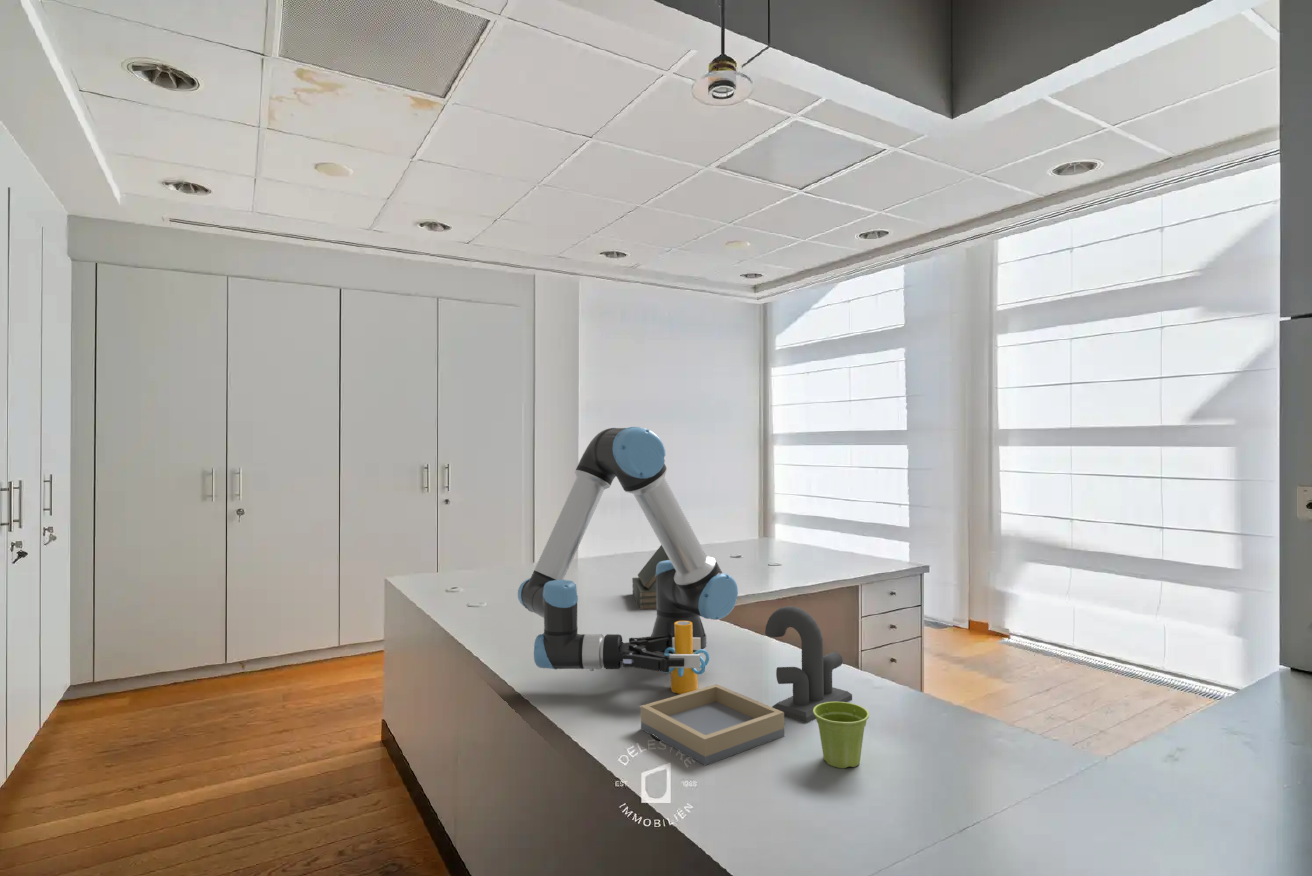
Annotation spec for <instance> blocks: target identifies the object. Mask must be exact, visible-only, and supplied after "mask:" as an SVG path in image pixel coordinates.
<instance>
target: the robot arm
mask: <svg viewBox="0 0 1312 876" xmlns="http://www.w3.org/2000/svg"><path fill="white" fill-rule="evenodd" d="M665 457H666V449H665V446H664V442H663V440H662V439H661V438H660V437H659V436H658V435H657V434H656V433H655V432H653V431H652V430H650V429H648V428H644V427H640V426H629V427H612V428H611V427H609V428H605V429H604V430H602V431H600V432H598V433H597V434H596V435H595V436H594V437H593V438H592V440H591V441H590V442H589V444H588V445H587V447H586V448H585V450H584V452H583V454H582V456H581V458H580V459H579V462H578V464H577V466H576V468H575V470H574V473H575V476H576V478H575V480H574V482H573V485H572V487H571V489H570V491H569V493H568V496H567V497H566V501H565V502H564V505H563V507H562V509H561V511H560V513H559V515H558V517H557V520H556V521H555V523H554V526H553V528H552V531H551V532H550V535H549V537H548V539H547V541H546V544H545V546H544V548H543V550H542V552H541V555H540V557H539V558H538V561H537V563H536V566H535V568H534V570H533V572H532V574H531V576H530V578H527V579H525V580H524V581H523V582H521V584H520V585H519V586H518V589H517V599H518V601H519V603H520V604H521V605H522V606H523V607H524V608H525V609H527V611H529V612H530V613H534V614H536V615H538V616H539V617H541V618H543V633H540V634H538V635H536V636H535V640H534V643H533V644H534V645H533V647H534V648H533V660H534V663H535V665H536V667H538V668H539V669H547V670H548V669H549V670H556V671H557V670H589V671H590V672H593V671H594V670H602V668H604V669H605V670H620V669H621V668H622V667H623V668H637V669H643V670H648V671H649V670H650V671H655V672H662V673H664V672H669V669H670V668H696V669H701V668H700V665H701V662H700V656H701V653H699V654H694V653H693V654H674V653H673V652H672V651H669V652H668V653H669V654H670V657H669V656H666V655H664V654H661V653H657V652H660V651H661V652H665V650H666V649H667V648H670V647H671V648H674V649H675V625H674V623H675V622H677V621H690V622H692V628H693V652H695V651H697V650H699V649H704V648H705V647H707V645H706V644H708V643H707V635H706V631H705V628H704V624H703V622H702V619H701V617H702V618H703V619H706V620H707V619H709V620H713V621H715V620H717V621H718V620H721V619H724V618H725V617H727V616H728V615H730V614H731V612H732V611H733V609H734V608H735V606H736V604H737V600H738V597H739V588H738V584H737V581H736V580H735V579H734V578H733V577H732V576H731V575H730V574H728V573H724V572H723V571H722V570H721V568H720V566H719V564H718V562H717V560H716V558H715V557H714V556H712V555H708V554H706V552H705V550H704V549H703V547H702V545H701V543H700V541H699V539H698V537H697V535H696V534H695V531H694V530H693V528H692V526H691V525H690V522H689V520H688V519H687V517H686V515H685V513H684V511H683V509H682V507H681V506H680V504H679V502H678V500H677V498H676V497H675V495H674V492H673V490H672V488H671V487H670V485H669V483H668V480H667V479H666V474H667V470H668V468H667V466H666V464H665V462H666V461H665ZM615 478H617V480H618V482H619V483H620V485H621V487H622V489H623V491H624V493H625V492H626V493H629V494H633V496H634V498H635V499H636V501H637V503H638V505H639V507H640V509H641V511H642V513H643V514H644V516H645V518H646V520H647V522H648V523H649V525H650V527H651V528H652V531H653V533H655V536H656V538H657V539H658V541H659V543H660V546H661V545H662V547H663V548H664V550H665V552H666V554H667V556H668V558H669V559H670V560H666V561H661V562H659V563H658V564H657V566H656V575H655V577H656V604H657V609H656V617H655V621H654V625H653V628H652V632H651V634H650V636H644V637H643V636H642V637H629V638H628V642H623V636H622V635H621V634H618V633H617V634H613V633H612V634H609V633H608V634H605V636H604V634H601V633H597V634H596V633H591V634H589V633H586V634H584V633H583V634H582V633H581V634H579V633H578V630H579V629H578V602H579V601H578V600H579V598H578V597H579V596H578V592H577V591H578V590H577V589H578V588H577V584H576V583H575V582H574V581H573V580H568V579H565V577H566V576H567V573H568V571H569V569H570V566H571V564H572V562H573V559H574V557H575V555H576V554H577V551H578V549H579V546H580V544H581V542H582V540H583V537H584V535H585V533H586V530H587V529H588V526H589V524H590V522H591V520H592V518H593V515H594V513H595V511H596V509H597V507H598V505H599V502H600V499H601V498H602V495H603V494H604V491H606V490H607V489H609V488H611V486H612V483H613V482H614V479H615Z"/></svg>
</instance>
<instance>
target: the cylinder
mask: <svg viewBox="0 0 1312 876" xmlns="http://www.w3.org/2000/svg"><path fill="white" fill-rule="evenodd" d="M674 625H675V649H674V648H671V647H670V648H667V649H666V650H665V651H664V653H663V655H666V656H669V658H670V654H671V653H672V654H704V656H705V660H704V658H703V657H702V656H701V655H700V668H699V669H700V670H697V669H698V668H670V667H669V672H663V673H665V674H669V673H670V690H671V692H672V693H675V694H677V695H681V694H684V693H688V692H691V691H694V690H698V689H699V683H698V680H699V676H700V675H702V674H704V672H705V670H706V666H708V664H709V661H710V655H709V652H708V651H707V650H705V649H704V648H702V649H699V650H696V651H693V628H692V622H690V621H677V622H675V623H674ZM669 651H672V652H671V653H670V652H669ZM698 675H699V676H698Z"/></svg>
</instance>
